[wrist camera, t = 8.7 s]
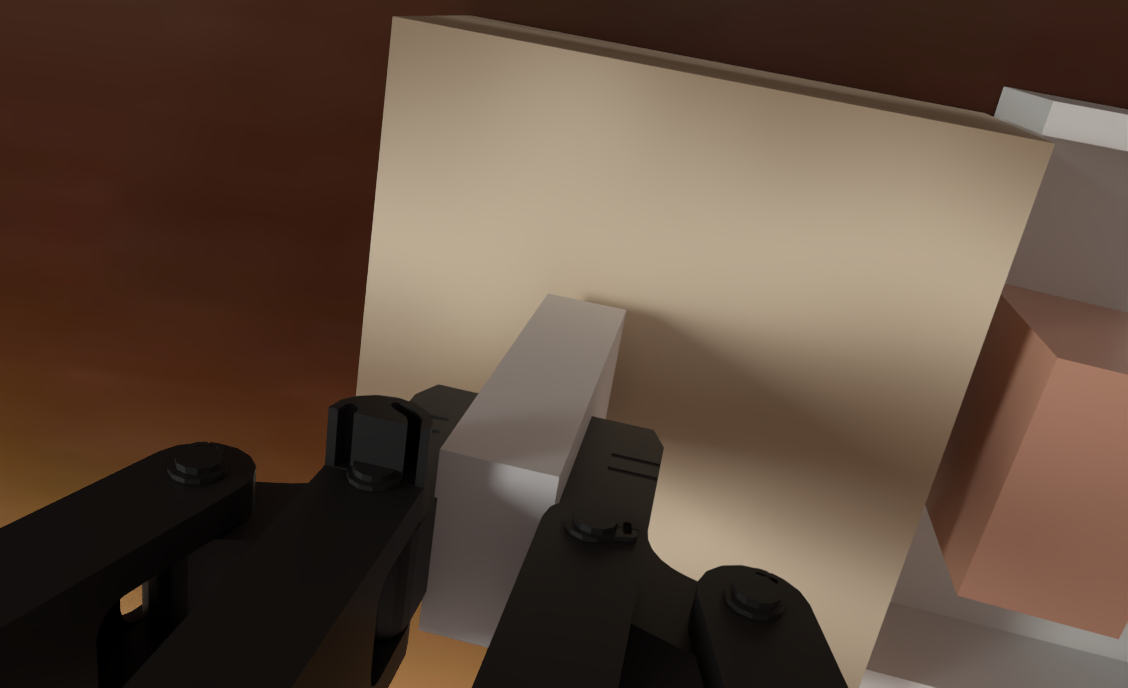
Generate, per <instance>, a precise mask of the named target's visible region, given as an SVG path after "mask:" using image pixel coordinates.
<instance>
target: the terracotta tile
mask: <svg viewBox="0 0 1128 688" xmlns="http://www.w3.org/2000/svg"><path fill="white" fill-rule="evenodd" d="M925 506H926V509H927V511H928V514H929V517H930V520H931V523H932V526H933V529H934V531H935V534H936V537H937V540H938V543H939V546H940V549H941V551H942V554H943V557H944V560H945V563H946V566H947V568H948V571H949V574H950V577H951V580H952V583H953V586H954V588H955V591H956V594H957V596H961V597H965V598H968V599H972V600H976V601H979V602H983V603H987V604H990V605H994V606H998V607H1001V608H1005V609H1009V610H1012V611H1016V612H1020V613H1023V614H1027V615H1031V616H1035V617H1038V618H1042V619H1046V620H1049V621H1053V622H1057V623H1060V624H1064V625H1068V626H1071V627H1075V628H1079V629H1082V630H1086V631H1090V632H1093V633H1097V634H1101V635H1105V636H1108V637H1112V638H1116V639H1119V638H1120V636H1121V634H1122V632H1123V630H1124V628H1125V626H1126V624H1127V622H1128V313H1127V312H1123V311H1119V310H1114V309H1110V308H1106V307H1101V306H1097V305H1093V304H1089V303H1084V302H1080V301H1076V300H1072V299H1067V298H1063V297H1059V296H1054V295H1050V294H1046V293H1042V292H1037V291H1033V290H1029V289H1025V288H1020V287H1016V286H1012V285H1007V284H1004V287H1003V290H1002V292H1001V295H1000V298H999V301H998V304H997V306H996V309H995V312H994V315H993V317H992V320H991V323H990V326H989V329H988V331H987V334H986V337H985V340H984V342H983V345H982V348H981V351H980V354H979V356H978V359H977V362H976V365H975V367H974V370H973V373H972V376H971V379H970V381H969V384H968V387H967V390H966V392H965V395H964V398H963V401H962V404H961V406H960V409H959V412H958V415H957V417H956V420H955V423H954V426H953V428H952V431H951V434H950V437H949V440H948V442H947V445H946V448H945V451H944V453H943V456H942V459H941V462H940V465H939V467H938V470H937V473H936V476H935V478H934V481H933V484H932V487H931V490H930V492H929V495H928V498H927V501H926V503H925Z"/></svg>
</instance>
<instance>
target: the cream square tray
mask: <svg viewBox="0 0 1128 688" xmlns="http://www.w3.org/2000/svg"><path fill="white" fill-rule="evenodd" d="M1054 145H1055V143H1053V142H1050V141H1048V140H1046V139H1044V138H1041V137H1039V136H1037V135H1034V134H1032V133H1030V132H1027V131H1025V130H1023V129H1020V128H1018V127H1016V126H1013V125H1011V124H1009V123H1006V122H1004V121H1002V120H999V119H997V118H995V117H993V116H990V115H988V114H986V113H981V112H976V111H971V110H965V109H960V108H955V107H950V106H944V105H939V104H934V103H929V102H923V101H918V100H913V99H908V98H902V97H897V96H892V95H887V94H881V93H876V92H871V91H865V90H860V89H855V88H850V87H844V86H839V85H834V84H829V83H823V82H818V81H813V80H808V79H802V78H797V77H792V76H787V75H781V74H776V73H771V72H766V71H760V70H755V69H750V68H744V67H739V66H734V65H729V64H723V63H718V62H713V61H708V60H702V59H697V58H692V57H687V56H681V55H676V54H671V53H666V52H660V51H655V50H650V49H645V48H639V47H634V46H629V45H623V44H618V43H613V42H608V41H602V40H597V39H592V38H587V37H581V36H576V35H571V34H566V33H560V32H555V31H550V30H545V29H539V28H534V27H529V26H524V25H518V24H513V23H508V22H502V21H497V20H492V19H487V18H481V17H476V16H393V20H392V31H391V41H390V51H389V62H388V72H387V82H386V93H385V103H384V113H383V123H382V134H381V144H380V154H379V165H378V175H377V185H376V196H375V206H374V216H373V227H372V237H371V247H370V257H369V268H368V278H367V288H366V299H365V309H364V319H363V330H362V340H361V350H360V360H359V371H358V381H357V391H356V396H363V395H382V396H390V397H397V398H401V399H404V400H407V401H410V400H411V399H412V398H413V396H414V395H415V394H417V393H419V392H421V391H424V390H426V389H429V388H431V387H433V386H436V385H438V384H439V385H444V386H448V387H453V388H457V389H462V390H466V391H471V392H475V393H479V392H480V391H481V389H482V388H483V386H484V385H485V384H486V382H487V381H488V379H489V378H490V376H491V375H492V373H493V372H494V371H495V369H496V368H497V366H498V365H499V363H500V362H501V360H502V359H503V358H504V356H505V355H506V353H507V352H508V350H509V349H510V347H511V346H512V345H513V343H514V342H515V340H516V339H517V337H518V336H519V334H520V333H521V332H522V330H523V329H524V327H525V326H526V324H527V323H528V322H529V320H530V319H531V317H532V316H533V314H534V313H535V311H536V310H537V309H538V307H539V306H540V304H541V303H542V301H543V300H544V298H545V297H546V296H547V294H552V295H557V296H562V297H567V298H572V299H576V300H581V301H586V302H591V303H596V304H600V305H605V306H610V307H615V308H620V309H624V310H626V314H625V320H624V325H623V330H622V335H621V341H620V346H619V351H618V356H617V362H616V367H615V372H614V377H613V383H612V388H611V393H610V399H609V404H608V409H607V414H606V419H607V420H612V421H616V422H621V423H625V424H630V425H634V426H639V427H643V428H648V429H652V430H654V431H655V433H656V435H657V436H658V438H659V440H660V442H661V443H662V445H663V447H664V450H663V455H662V460H661V465H660V471H659V476H658V481H657V486H656V491H655V497H654V502H653V507H652V512H651V517H650V523H649V528H648V540H649V543H650V545H651V547H652V549H653V551H654V552H655V553H656V554H657V555H658V557H659V558H660V559H661V560H662V561H664V562H665V563H666V564H667V565H669V566H670V567H671V568H673V569H675V570H676V571H678V572H680V573H682V574H684V575H685V576H687V577H690V578H692V579H694V580H696V581H698V580H699V579H700V578H701V577H702V576H703V575H704V573H705V572H706V571H708V570H711V569H713V568H716V567H719V566H722V565H743V566H748V567H753V568H759V569H762V570H765V571H768V572H769V573H773V574H775V575H777V576H778V577H780V578H783V579H784V580H786V581H787V582H788V583H790V584H791V585H792V586H794V587H795V588H796V589H798V590H799V591H800V592H801V593H802V595H803V596H804V597H805V599H806V600H807V601H808V603H809V604H810V606H811V608H812V610H813V612H814V614H815V616H816V619H817V621H818V623H819V625H820V627H821V629H822V632H823V634H824V636H825V638H826V640H827V642H828V645H829V647H830V649H831V651H832V653H833V655H834V658H835V660H836V662H837V664H838V666H839V668H840V671H841V673H842V675H843V677H844V679H845V681H846V684H847V686H848V688H859V687H860V684H861V681H862V678H863V675H864V673H865V670H866V667H867V664H868V662H869V659H870V656H871V653H872V650H873V648H874V645H875V642H876V639H877V637H878V634H879V631H880V628H881V626H882V623H883V620H884V617H885V614H886V612H887V609H888V606H889V603H890V601H891V598H892V595H893V592H894V589H895V587H896V584H897V581H898V578H899V576H900V573H901V570H902V567H903V564H904V562H905V559H906V556H907V553H908V551H909V548H910V545H911V542H912V539H913V537H914V534H915V531H916V528H917V526H918V523H919V520H920V517H921V515H922V512H923V509H924V506H925V503H926V501H927V498H928V495H929V492H930V490H931V487H932V484H933V481H934V478H935V476H936V473H937V470H938V467H939V465H940V462H941V459H942V456H943V453H944V451H945V448H946V445H947V442H948V440H949V437H950V434H951V431H952V428H953V426H954V423H955V420H956V417H957V415H958V412H959V409H960V406H961V404H962V401H963V398H964V395H965V392H966V390H967V387H968V384H969V381H970V379H971V376H972V373H973V370H974V367H975V365H976V362H977V359H978V356H979V354H980V351H981V348H982V345H983V342H984V340H985V337H986V334H987V331H988V329H989V326H990V323H991V320H992V317H993V315H994V312H995V309H996V306H997V304H998V301H999V298H1000V295H1001V292H1002V290H1003V287H1004V284H1005V281H1006V279H1007V276H1008V273H1009V270H1010V268H1011V265H1012V262H1013V259H1014V256H1015V254H1016V251H1017V248H1018V245H1019V243H1020V240H1021V237H1022V234H1023V231H1024V229H1025V226H1026V223H1027V220H1028V218H1029V215H1030V212H1031V209H1032V206H1033V204H1034V201H1035V198H1036V195H1037V193H1038V190H1039V187H1040V184H1041V181H1042V179H1043V176H1044V173H1045V170H1046V168H1047V165H1048V162H1049V159H1050V157H1051V154H1052V151H1053V148H1054Z"/></svg>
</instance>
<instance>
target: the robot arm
mask: <svg viewBox="0 0 1128 688" xmlns="http://www.w3.org/2000/svg"><path fill="white" fill-rule="evenodd" d="M625 314H626V310H624V309H620V308H615V307H610V306H605V305H600V304H596V303H591V302H586V301H581V300H576V299H572V298H567V297H562V296H557V295H552V294H547V296H546V297H545V298H544V300H543V301H542V303H541V304H540V306H539V307H538V309H537V310H536V311H535V313H534V314H533V316H532V317H531V319H530V320H529V322H528V323H527V324H526V326H525V327H524V329H523V330H522V332H521V333H520V334H519V336H518V337H517V339H516V340H515V342H514V343H513V345H512V346H511V347H510V349H509V350H508V352H507V353H506V355H505V356H504V358H503V359H502V360H501V362H500V363H499V365H498V366H497V368H496V369H495V371H494V372H493V373H492V375H491V376H490V378H489V379H488V381H487V382H486V384H485V385H484V386H483V388H482V389H481V391H480V392H479V393H475V392H471V391H466V390H462V389H457V388H453V387H448V386H444V385H439V384H438V385H436V386H433V387H431V388H429V389H426V390H424V391H421V392H419V393H417V394H415V395H414V396H413V398H412V399H411V400H410V401H407V400H404V399H401V398H397V397H390V396H382V395H363V396H355V397H351V398H347V399H343V400H340V401H338V402H337V403H335V404H333V405H332V406H330V407H329V413H328V428H327V443H326V458H325V465H324V467H323V468H322V469H321V470H320V471H319V472H318V473H317V474H316V475H315V476H314V478H313V479H312V480H311V481H310V482H309V483H292V484H289V483H268V482H256V465H255V463H254V462H253V460H252V458H251V456H249V455H248V454H246V453H244V452H243V451H241V450H239V449H238V448H234V447H230V446H226V445H222V444H220V443H212V442H210V443H208V442H195V443H192V444H184V445H177V446H174V447H171V448H168V449H165V450H162V451H159V452H157V453H155V454H153V455H151V456H148V457H146V458H144V459H142V460H140V461H138V462H136V463H134V464H132V465H130V466H128V467H126V468H124V469H122V470H120V471H117V472H115V473H113V474H111V475H109V476H107V477H105V478H103V479H101V480H99V481H97V482H95V483H93V484H91V485H89V486H87V487H84V488H82V489H80V490H78V491H76V492H74V493H72V494H70V495H68V496H66V497H64V498H62V499H60V500H58V501H56V502H54V503H51V504H49V505H47V506H45V507H43V508H41V509H39V510H37V511H35V512H33V513H31V514H29V515H27V516H25V517H23V518H21V519H18V520H16V521H14V522H12V523H10V524H8V525H6V526H4V527H2V528H0V688H388V687H389V685H390V683H391V681H392V679H393V677H394V676H395V674H396V672H397V670H398V668H399V666H400V664H401V662H402V660H403V658H404V656H405V654H406V649H407V644H408V637H409V628H410V620H411V618H412V617H413V615H414V613H415V611H416V609H417V608H418V606H419V604H420V602H421V600H422V605H421V614H420V622H419V630H421V631H425V632H429V633H433V634H437V635H441V636H445V637H448V638H452V639H456V640H460V641H464V642H468V643H472V644H476V645H480V646H484V647H488V650H487V652H486V654H485V657H484V659H483V662H482V664H481V667H480V669H479V671H478V674H477V676H476V679H475V681H474V684H473V686H472V688H848V686H847V684H846V681H845V679H844V677H843V675H842V673H841V671H840V668H839V666H838V664H837V662H836V660H835V658H834V655H833V653H832V651H831V649H830V647H829V645H828V642H827V640H826V638H825V636H824V634H823V632H822V629H821V627H820V625H819V623H818V621H817V619H816V616H815V614H814V612H813V610H812V608H811V606H810V604H809V603H808V601H807V600H806V599H805V597H804V596H803V595H802V593H801V592H800V591H799V590H798V589H796V588H795V587H794V586H792V585H791V584H790V583H788V582H787V581H786V580H784V579H783V578H780V577H778V576H777V575H775V574H773V573H769V572H768V571H765V570H762V569H759V568H753V567H748V566H743V565H722V566H719V567H716V568H713V569H711V570H708V571H706V572H705V573H704V575H703V576H702V577H701V578H700V579H699V580H698V581H696V580H694V579H692V578H690V577H687V576H685V575H684V574H682V573H680V572H678V571H676V570H675V569H673V568H671V567H670V566H669V565H667V564H666V563H665V562H664V561H662V560H661V559H660V558H659V557H658V555H657V554H656V553H655V552H654V551H653V549H652V547H651V545H650V543H649V540H648V528H649V523H650V517H651V512H652V507H653V502H654V497H655V491H656V486H657V481H658V476H659V471H660V465H661V460H662V455H663V450H664V447H663V445H662V443H661V442H660V440H659V438H658V436H657V435H656V433H655V431H654V430H652V429H648V428H643V427H639V426H634V425H630V424H625V423H621V422H616V421H612V420H607V419H606V414H607V409H608V404H609V399H610V393H611V388H612V383H613V377H614V372H615V367H616V362H617V356H618V351H619V346H620V341H621V335H622V330H623V325H624V320H625ZM140 585H142V605H141V606H139V607H138V608H136V609H135V610H133V611H131V612H129V613H127V614H124V615H122V614H121V611H120V599H121V598H122V597H123V596H124V595H126V594H127V593H129V592H131V591H132V590H134V589H135V588H137V587H139V586H140Z"/></svg>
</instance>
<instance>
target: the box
mask: <svg viewBox="0 0 1128 688" xmlns="http://www.w3.org/2000/svg"><path fill="white" fill-rule="evenodd" d="M994 117H995V118H997V119H999V120H1002V121H1004V122H1006V123H1009V124H1011V125H1013V126H1016V127H1018V128H1020V129H1023V130H1025V131H1027V132H1030V133H1032V134H1034V135H1037V136H1039V137H1041V138H1044V139H1046V140H1048V141H1050V142H1053V143H1055V145H1054V148H1053V151H1052V154H1051V157H1050V159H1049V162H1048V165H1047V168H1046V170H1045V173H1044V176H1043V179H1042V181H1041V184H1040V187H1039V190H1038V193H1037V195H1036V198H1035V201H1034V204H1033V206H1032V209H1031V212H1030V215H1029V218H1028V220H1027V223H1026V226H1025V229H1024V231H1023V234H1022V237H1021V240H1020V243H1019V245H1018V248H1017V251H1016V254H1015V256H1014V259H1013V262H1012V265H1011V268H1010V270H1009V273H1008V276H1007V279H1006V281H1005V284H1007V285H1012V286H1016V287H1020V288H1025V289H1029V290H1033V291H1037V292H1042V293H1046V294H1050V295H1054V296H1059V297H1063V298H1067V299H1072V300H1076V301H1080V302H1084V303H1089V304H1093V305H1097V306H1101V307H1106V308H1110V309H1114V310H1119V311H1123V312H1127V313H1128V109H1122V108H1117V107H1111V106H1106V105H1101V104H1095V103H1090V102H1085V101H1079V100H1074V99H1069V98H1063V97H1058V96H1052V95H1047V94H1042V93H1036V92H1031V91H1026V90H1020V89H1015V88H1010V87H1004V88H1003V91H1002V94H1001V97H1000V100H999V103H998V106H997V109H996V112H995V115H994ZM859 688H1128V622H1127V624H1126V626H1125V628H1124V630H1123V632H1122V634H1121V636H1120V638H1119V639H1116V638H1112V637H1108V636H1105V635H1101V634H1097V633H1093V632H1090V631H1086V630H1082V629H1079V628H1075V627H1071V626H1068V625H1064V624H1060V623H1057V622H1053V621H1049V620H1046V619H1042V618H1038V617H1035V616H1031V615H1027V614H1023V613H1020V612H1016V611H1012V610H1009V609H1005V608H1001V607H998V606H994V605H990V604H987V603H983V602H979V601H976V600H972V599H968V598H965V597H961V596H957V594H956V591H955V588H954V586H953V583H952V580H951V577H950V574H949V571H948V568H947V566H946V563H945V560H944V557H943V554H942V551H941V549H940V546H939V543H938V540H937V537H936V534H935V531H934V529H933V526H932V523H931V520H930V517H929V514H928V511H927V509H926V506H924V509H923V512H922V515H921V517H920V520H919V523H918V526H917V528H916V531H915V534H914V537H913V539H912V542H911V545H910V548H909V551H908V553H907V556H906V559H905V562H904V564H903V567H902V570H901V573H900V576H899V578H898V581H897V584H896V587H895V589H894V592H893V595H892V598H891V601H890V603H889V606H888V609H887V612H886V614H885V617H884V620H883V623H882V626H881V628H880V631H879V634H878V637H877V639H876V642H875V645H874V648H873V650H872V653H871V656H870V659H869V662H868V664H867V667H866V670H865V673H864V675H863V678H862V681H861V684H860V687H859Z"/></svg>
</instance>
